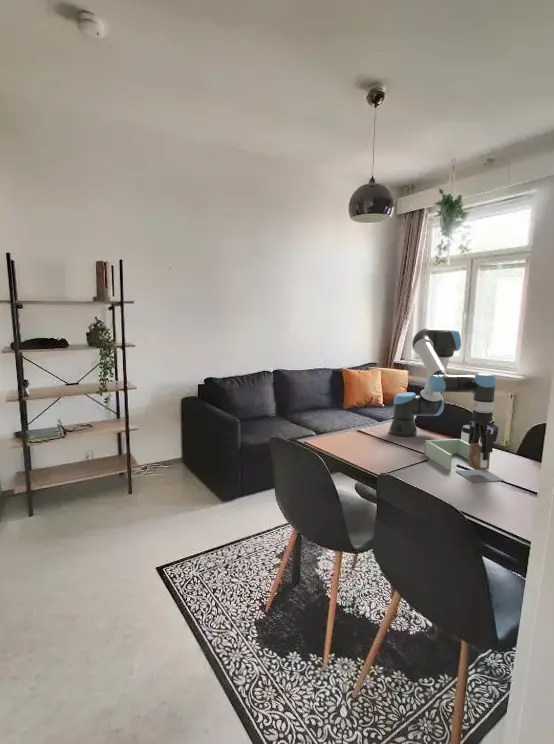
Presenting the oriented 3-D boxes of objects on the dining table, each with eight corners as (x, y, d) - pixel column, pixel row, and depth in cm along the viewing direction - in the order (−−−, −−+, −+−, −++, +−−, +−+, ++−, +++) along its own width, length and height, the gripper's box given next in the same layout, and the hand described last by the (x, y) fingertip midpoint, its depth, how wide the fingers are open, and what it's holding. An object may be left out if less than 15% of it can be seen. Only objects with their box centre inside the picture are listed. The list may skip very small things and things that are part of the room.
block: (468, 465, 174) (469, 443, 172) (481, 465, 175) (482, 442, 173) (475, 469, 169) (477, 446, 168) (488, 469, 170) (490, 446, 168)
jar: (456, 448, 208) (458, 425, 207) (469, 446, 211) (471, 424, 209) (469, 453, 200) (471, 430, 198) (482, 452, 202) (484, 428, 201)
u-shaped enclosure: (424, 454, 199) (424, 440, 198) (458, 452, 201) (459, 438, 200) (448, 470, 178) (449, 454, 177) (486, 468, 181) (487, 453, 180)
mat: (455, 471, 176) (455, 470, 176) (485, 470, 178) (485, 469, 178) (472, 482, 164) (472, 481, 164) (504, 481, 166) (504, 480, 166)
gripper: (461, 406, 177) (457, 457, 180) (488, 416, 159) (484, 473, 162) (477, 405, 178) (473, 457, 181) (506, 415, 160) (501, 472, 163)
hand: (478, 464), depth 172 cm, fingers closed on block, 5 cm apart
